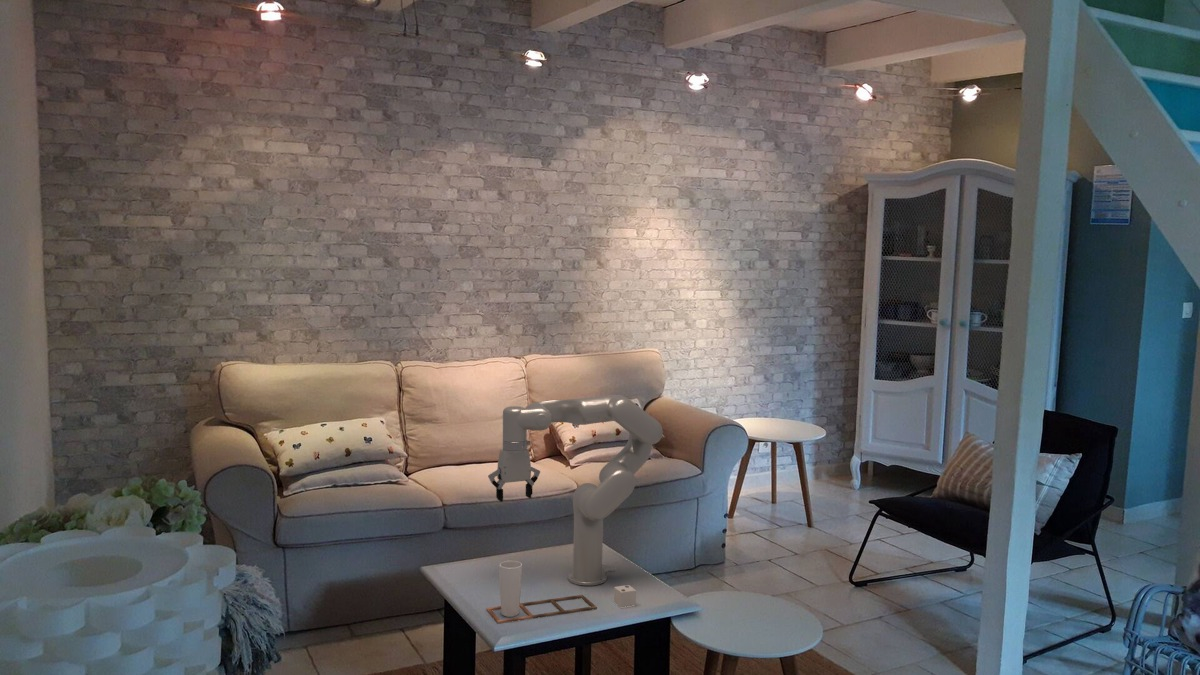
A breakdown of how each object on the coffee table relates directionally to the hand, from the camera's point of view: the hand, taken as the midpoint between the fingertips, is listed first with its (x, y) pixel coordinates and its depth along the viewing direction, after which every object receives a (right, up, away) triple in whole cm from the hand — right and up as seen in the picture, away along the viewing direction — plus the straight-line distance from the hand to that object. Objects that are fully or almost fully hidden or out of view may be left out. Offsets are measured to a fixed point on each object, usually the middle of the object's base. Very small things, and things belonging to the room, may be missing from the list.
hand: (514, 498), depth 289 cm
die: (+35, -30, -12) cm, 47 cm away
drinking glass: (+1, -30, -22) cm, 37 cm away
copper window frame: (+10, -30, -18) cm, 36 cm away
